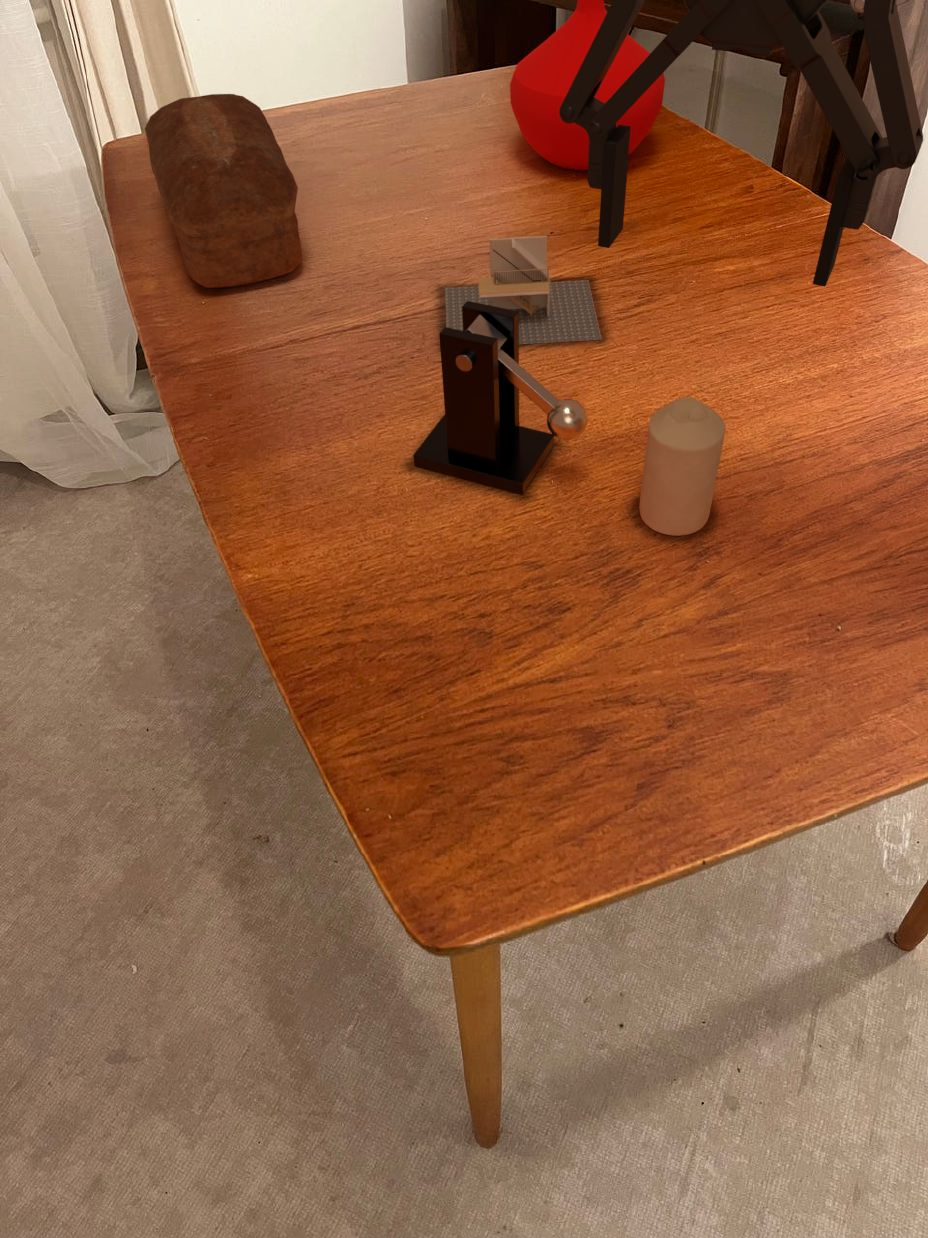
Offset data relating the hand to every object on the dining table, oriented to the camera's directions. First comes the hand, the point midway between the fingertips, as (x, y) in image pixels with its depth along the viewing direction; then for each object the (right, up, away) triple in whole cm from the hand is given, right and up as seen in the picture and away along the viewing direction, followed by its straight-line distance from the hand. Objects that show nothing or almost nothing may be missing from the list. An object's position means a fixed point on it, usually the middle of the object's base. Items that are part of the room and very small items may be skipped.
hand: (713, 255), depth 62 cm
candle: (+1, -15, +16) cm, 22 cm away
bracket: (-14, -9, +22) cm, 28 cm away
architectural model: (-10, +8, +37) cm, 39 cm away
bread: (-42, +21, +51) cm, 69 cm away
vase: (-1, +35, +61) cm, 71 cm away
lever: (-12, -5, +16) cm, 20 cm away
